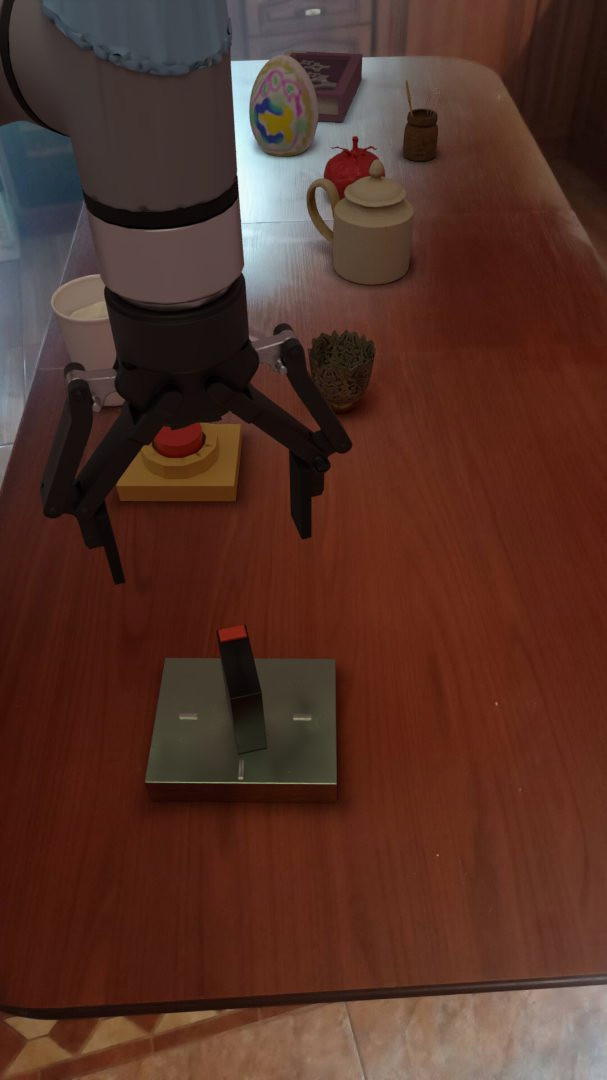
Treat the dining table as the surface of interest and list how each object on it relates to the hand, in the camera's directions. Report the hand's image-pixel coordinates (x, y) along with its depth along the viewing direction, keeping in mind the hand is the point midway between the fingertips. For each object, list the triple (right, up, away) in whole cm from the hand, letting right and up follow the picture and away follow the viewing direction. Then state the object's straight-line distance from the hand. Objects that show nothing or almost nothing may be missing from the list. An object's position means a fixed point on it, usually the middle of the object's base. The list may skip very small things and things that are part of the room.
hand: (211, 547), depth 58 cm
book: (+9, +91, +106) cm, 140 cm away
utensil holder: (+27, +69, +85) cm, 113 cm away
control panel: (+2, -15, +6) cm, 16 cm away
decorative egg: (+3, +72, +89) cm, 114 cm away
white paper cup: (-16, +19, +39) cm, 46 cm away
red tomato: (+15, +57, +74) cm, 94 cm away
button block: (-6, +8, +28) cm, 30 cm away
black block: (+2, -13, +4) cm, 14 cm away
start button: (-6, +11, +26) cm, 28 cm away
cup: (+11, +16, +36) cm, 41 cm away
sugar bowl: (+14, +40, +58) cm, 72 cm away
